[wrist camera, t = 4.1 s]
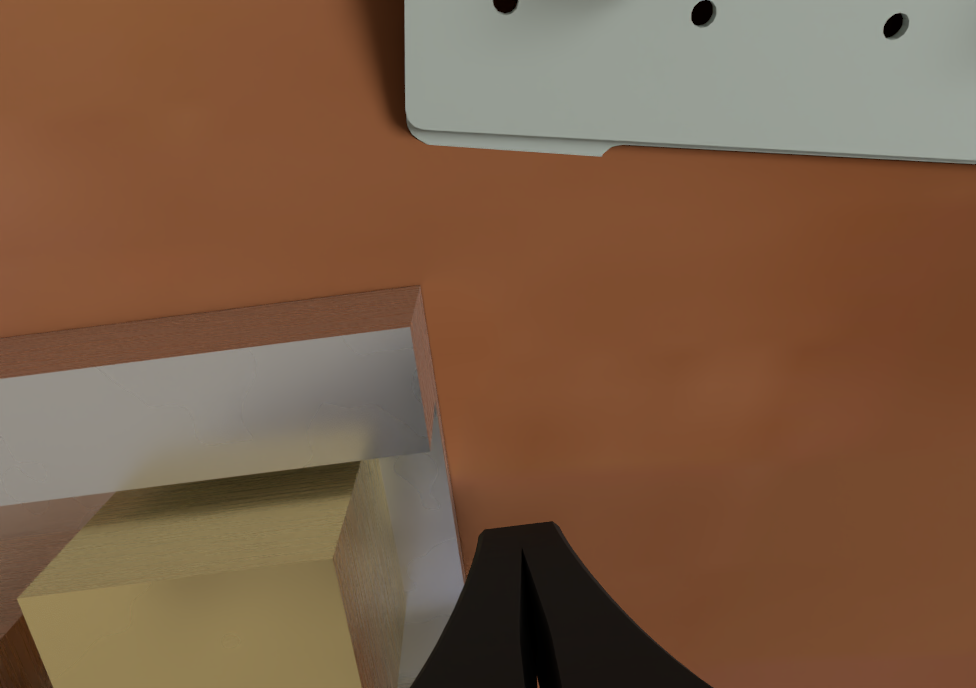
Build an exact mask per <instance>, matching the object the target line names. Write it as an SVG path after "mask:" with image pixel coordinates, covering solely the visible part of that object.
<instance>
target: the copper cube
mask: <svg viewBox="0 0 976 688" xmlns="http://www.w3.org/2000/svg"><path fill="white" fill-rule="evenodd" d="M79 531H80V530H73V531H65V532H57V533H49V534H41V535H33V536H26V537H18V538H10V539H2V540H0V688H53V686H52V683H51V681H50V678H49V676H48V674H47V671H46V669H45V666H44V664H43V661H42V659H41V657H40V654H39V652H38V649H37V647H36V644H35V642H34V640H33V637H32V635H31V632H30V630H29V627H28V625H27V623H26V620H25V618H24V615H23V613H22V610H21V608H20V605H19V603H18V601H17V598H18V597H19V596H20V595H21V594H22V592H23V591H24V590H25V589H26V588H27V587H28V586H29V585H30V584H31V583H32V582H33V581H34V580H35V578H36V577H37V576H38V575H39V574H40V573H41V572H42V571H43V570H44V569H45V568H46V567H47V566H48V565H49V563H50V562H51V561H52V560H53V559H54V558H55V557H56V556H57V555H58V554H59V553H60V552H61V551H62V549H63V548H64V547H65V546H66V545H67V544H68V543H69V542H70V541H71V540H72V539H73V538H74V537H75V535H76V534H77V533H78V532H79Z"/></svg>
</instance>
